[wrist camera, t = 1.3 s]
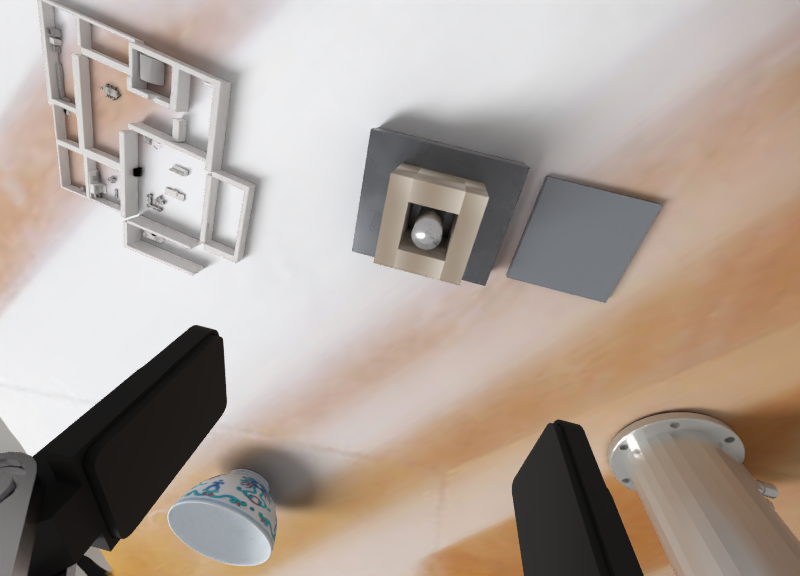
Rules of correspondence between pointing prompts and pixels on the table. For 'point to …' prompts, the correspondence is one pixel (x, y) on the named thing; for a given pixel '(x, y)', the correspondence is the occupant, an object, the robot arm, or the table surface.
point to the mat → (580, 238)
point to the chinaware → (228, 518)
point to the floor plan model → (141, 70)
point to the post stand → (429, 222)
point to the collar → (438, 194)
